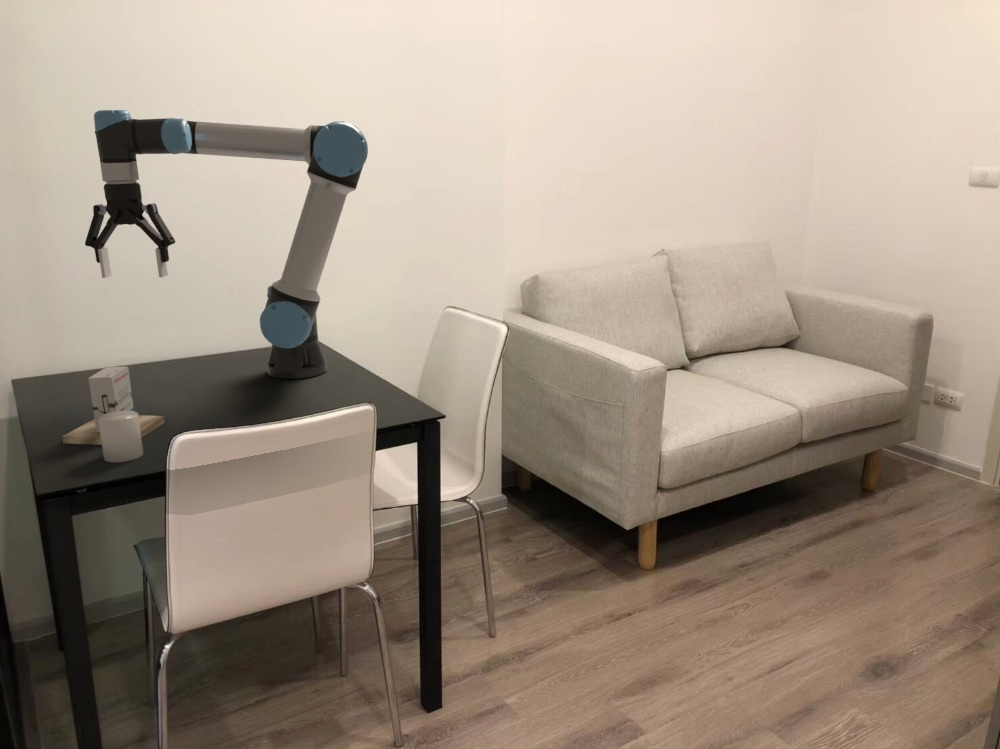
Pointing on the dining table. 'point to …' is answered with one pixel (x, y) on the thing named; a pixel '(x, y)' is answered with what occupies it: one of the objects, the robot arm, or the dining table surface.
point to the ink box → (110, 392)
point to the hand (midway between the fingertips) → (135, 276)
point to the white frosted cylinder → (120, 436)
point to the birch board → (90, 436)
